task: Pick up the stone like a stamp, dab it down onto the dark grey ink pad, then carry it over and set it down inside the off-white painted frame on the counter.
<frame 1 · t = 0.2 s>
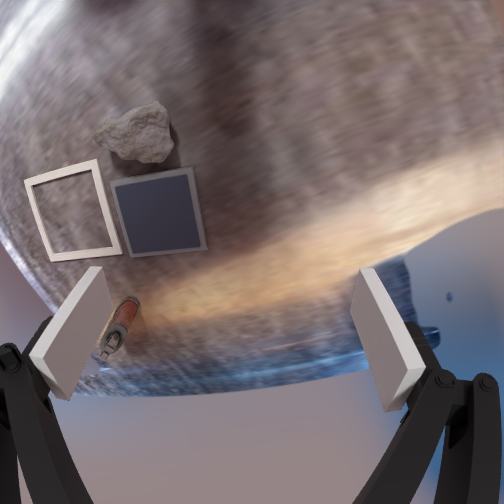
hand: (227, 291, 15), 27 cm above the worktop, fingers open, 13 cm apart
ink pad: (159, 213, 43), on the worktop
lighter: (126, 310, 51), on the worktop
print box: (70, 214, 42), on the worktop
stone: (143, 128, 37), on the worktop
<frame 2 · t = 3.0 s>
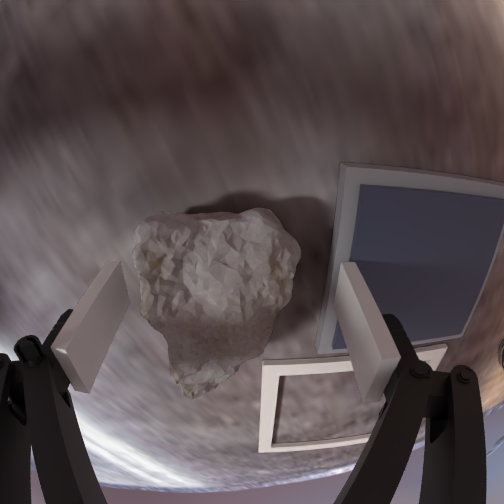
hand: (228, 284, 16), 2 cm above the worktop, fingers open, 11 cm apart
ink pad: (418, 266, 17), on the worktop
print box: (343, 408, 25), on the worktop
stone: (209, 269, 18), on the worktop
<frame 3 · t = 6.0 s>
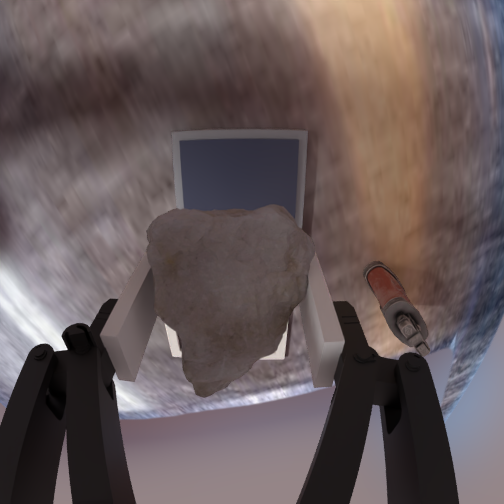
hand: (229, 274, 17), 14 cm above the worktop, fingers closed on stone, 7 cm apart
ink pad: (239, 190, 29), on the worktop
lighter: (384, 283, 35), on the worktop
print box: (224, 314, 37), on the worktop
stone: (221, 267, 18), point 14 cm above the worktop, touching gripper
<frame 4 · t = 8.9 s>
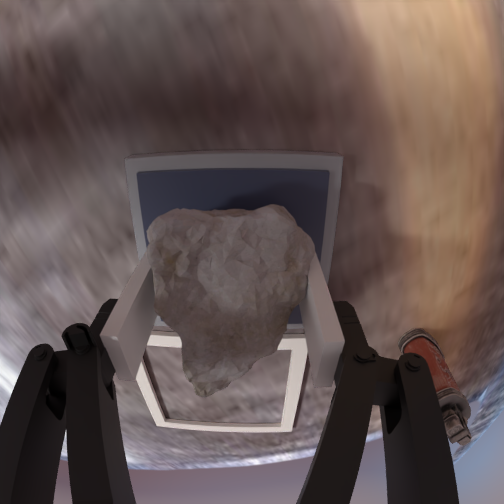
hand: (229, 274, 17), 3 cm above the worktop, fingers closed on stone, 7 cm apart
ink pad: (234, 246, 20), on the worktop
lighter: (421, 350, 25), on the worktop
print box: (217, 390, 27), on the worktop
stone: (221, 266, 18), point 2 cm above the worktop, touching gripper
when the fingers open (3 cm above the worktop, at t = 14.1 s): stone drops 2 cm, on the worktop.
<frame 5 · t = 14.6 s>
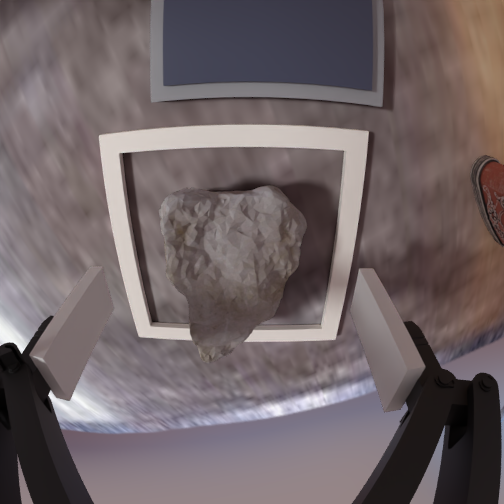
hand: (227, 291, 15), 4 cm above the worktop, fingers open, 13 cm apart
lighter: (493, 200, 18), on the worktop
print box: (232, 248, 19), on the worktop
stone: (225, 245, 20), on the worktop
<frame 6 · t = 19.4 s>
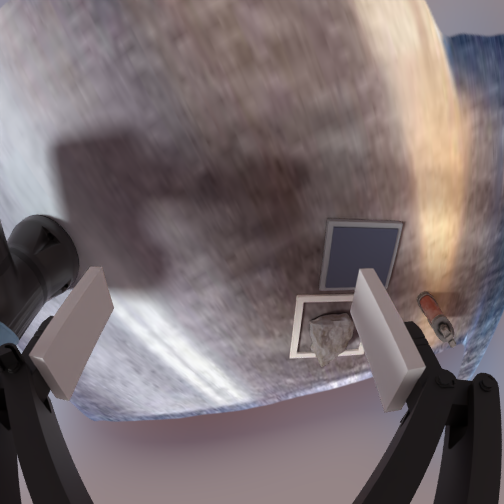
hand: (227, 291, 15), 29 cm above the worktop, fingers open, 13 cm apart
ink pad: (359, 254, 47), on the worktop
lighter: (427, 304, 53), on the worktop
print box: (333, 327, 54), on the worktop
stone: (325, 327, 55), on the worktop
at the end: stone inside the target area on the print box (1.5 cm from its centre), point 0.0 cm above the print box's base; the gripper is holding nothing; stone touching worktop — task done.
